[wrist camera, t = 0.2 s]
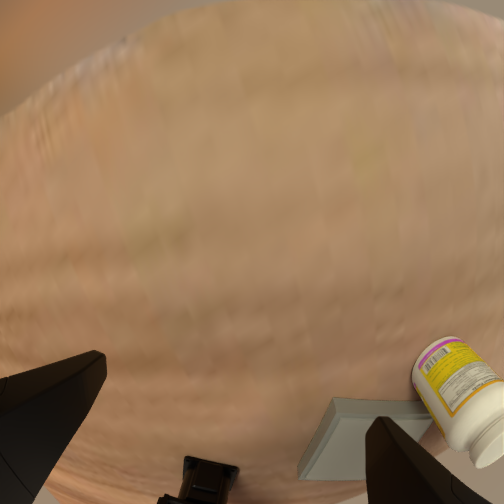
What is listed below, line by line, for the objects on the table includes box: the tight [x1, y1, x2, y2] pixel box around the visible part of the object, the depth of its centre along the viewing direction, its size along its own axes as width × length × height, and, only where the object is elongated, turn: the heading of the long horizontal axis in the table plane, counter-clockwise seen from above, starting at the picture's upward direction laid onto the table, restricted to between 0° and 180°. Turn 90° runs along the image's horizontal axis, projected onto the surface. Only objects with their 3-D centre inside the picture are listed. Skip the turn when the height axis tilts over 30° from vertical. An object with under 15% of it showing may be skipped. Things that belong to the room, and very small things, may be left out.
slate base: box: [297, 397, 434, 481], centre depth 24 cm, size 12×12×2 cm
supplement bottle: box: [412, 336, 504, 468], centre depth 17 cm, size 7×7×13 cm
